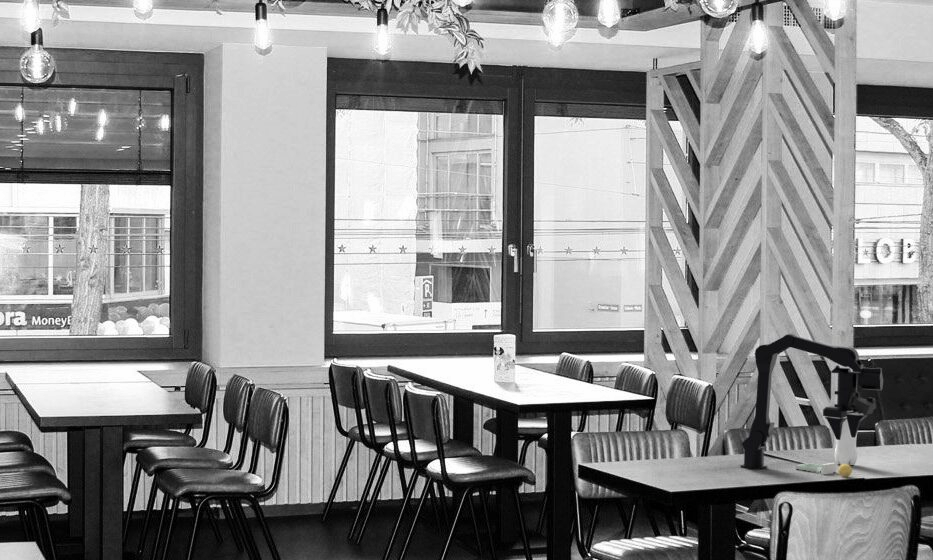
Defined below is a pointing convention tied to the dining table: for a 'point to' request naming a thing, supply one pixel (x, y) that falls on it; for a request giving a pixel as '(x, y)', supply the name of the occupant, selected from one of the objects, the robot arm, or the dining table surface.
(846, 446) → the water bottle
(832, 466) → the wall
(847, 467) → the ball
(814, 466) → the dish
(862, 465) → the dining table surface
